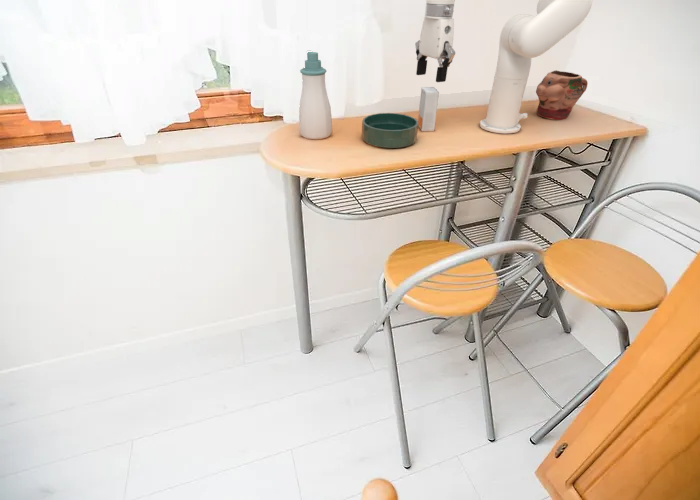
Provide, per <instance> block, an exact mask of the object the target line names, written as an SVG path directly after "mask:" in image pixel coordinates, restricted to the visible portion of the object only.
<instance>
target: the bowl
mask: <svg viewBox="0 0 700 500" xmlns="http://www.w3.org/2000/svg"><path fill="white" fill-rule="evenodd" d="M418 129H419V126H418V119H417V118H415V117H414V116H410V115H407V114H402V113H396V112H379V113H373V114H369V115H367V116H365V117H364V118H362V121H361V139H362V140H363V142H365V143H367V144H368V145H371V146H374V147H378V148H388V149H393V148H394V149H395V148H396V149H397V148H405V147H409V146H411V145H414V144H415V143H416V142H417V141H418Z"/></svg>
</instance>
